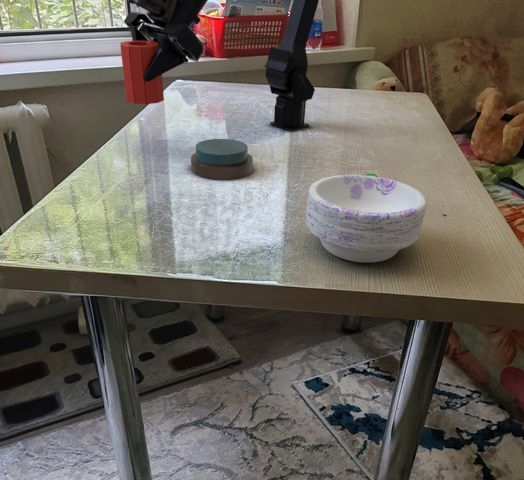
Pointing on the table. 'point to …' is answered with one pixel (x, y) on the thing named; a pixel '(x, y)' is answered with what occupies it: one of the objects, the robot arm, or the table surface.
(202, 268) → the table surface
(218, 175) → the stack base
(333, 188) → the paper bowls
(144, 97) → the red cylinder
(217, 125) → the table surface
